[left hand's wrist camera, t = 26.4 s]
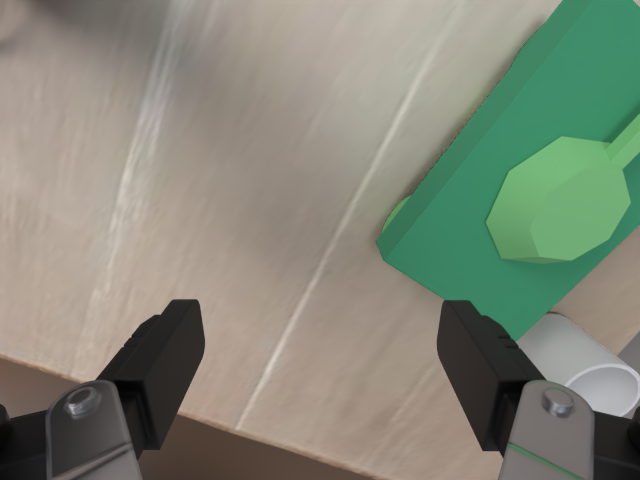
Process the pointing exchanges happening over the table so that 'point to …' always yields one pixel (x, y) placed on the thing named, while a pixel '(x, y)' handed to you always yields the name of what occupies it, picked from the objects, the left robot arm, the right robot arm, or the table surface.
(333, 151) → the table surface
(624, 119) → the toy tank
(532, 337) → the mug
